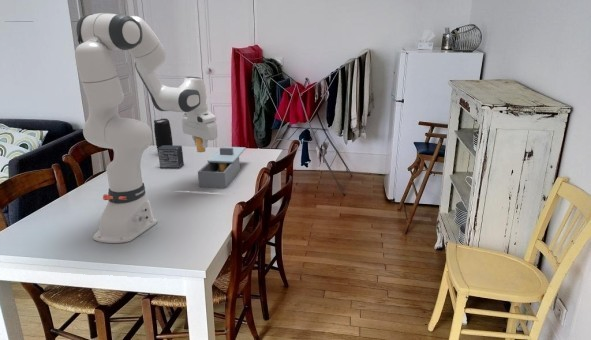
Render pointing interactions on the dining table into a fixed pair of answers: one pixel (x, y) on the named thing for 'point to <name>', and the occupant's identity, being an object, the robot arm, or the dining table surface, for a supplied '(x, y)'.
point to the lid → (227, 154)
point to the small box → (170, 156)
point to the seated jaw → (222, 167)
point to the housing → (218, 174)
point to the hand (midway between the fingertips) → (200, 146)
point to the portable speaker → (162, 133)
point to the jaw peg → (199, 145)
